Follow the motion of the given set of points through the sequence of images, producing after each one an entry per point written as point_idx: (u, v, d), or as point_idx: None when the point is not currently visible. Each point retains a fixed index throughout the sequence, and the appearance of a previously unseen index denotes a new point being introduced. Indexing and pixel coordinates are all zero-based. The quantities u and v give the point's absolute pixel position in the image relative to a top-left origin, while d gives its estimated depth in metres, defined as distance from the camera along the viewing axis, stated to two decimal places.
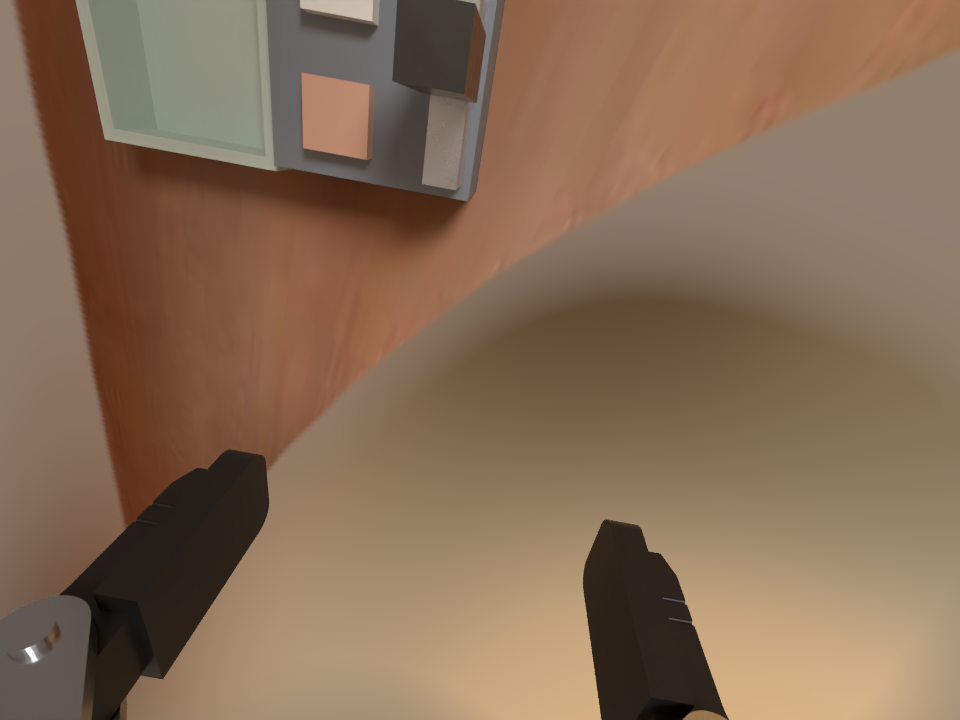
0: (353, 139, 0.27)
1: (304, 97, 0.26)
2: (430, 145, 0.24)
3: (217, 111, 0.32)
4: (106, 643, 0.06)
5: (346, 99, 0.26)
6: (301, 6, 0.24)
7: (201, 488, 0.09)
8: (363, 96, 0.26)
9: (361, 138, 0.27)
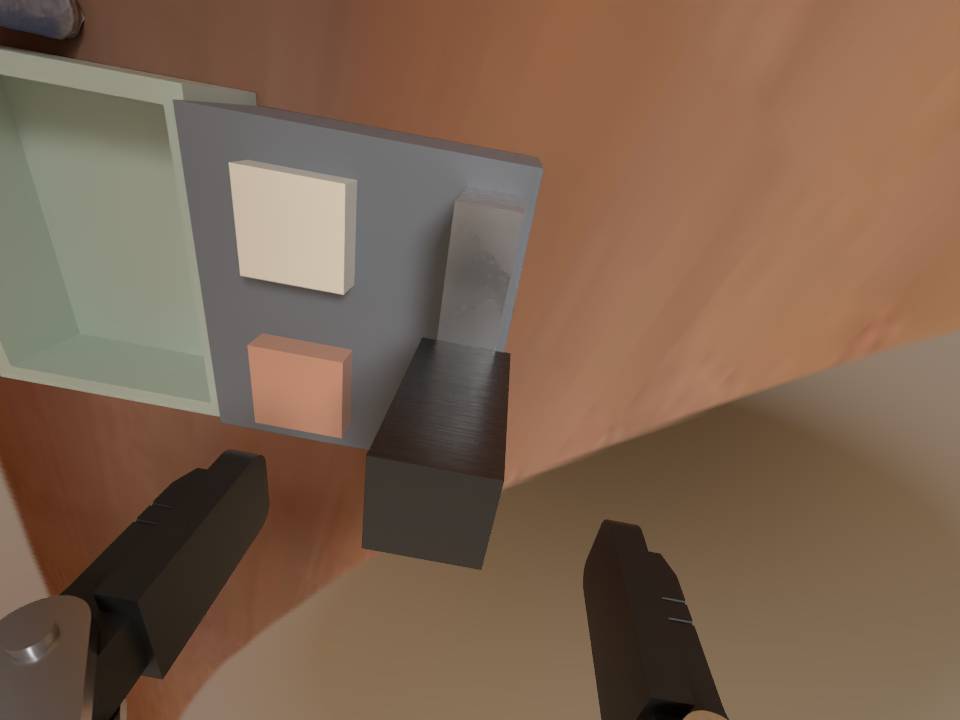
0: (322, 417, 0.20)
1: (253, 371, 0.19)
2: None
3: (154, 318, 0.25)
4: (106, 643, 0.06)
5: (311, 376, 0.19)
6: (241, 274, 0.17)
7: (201, 488, 0.09)
8: (334, 374, 0.18)
9: (333, 416, 0.19)
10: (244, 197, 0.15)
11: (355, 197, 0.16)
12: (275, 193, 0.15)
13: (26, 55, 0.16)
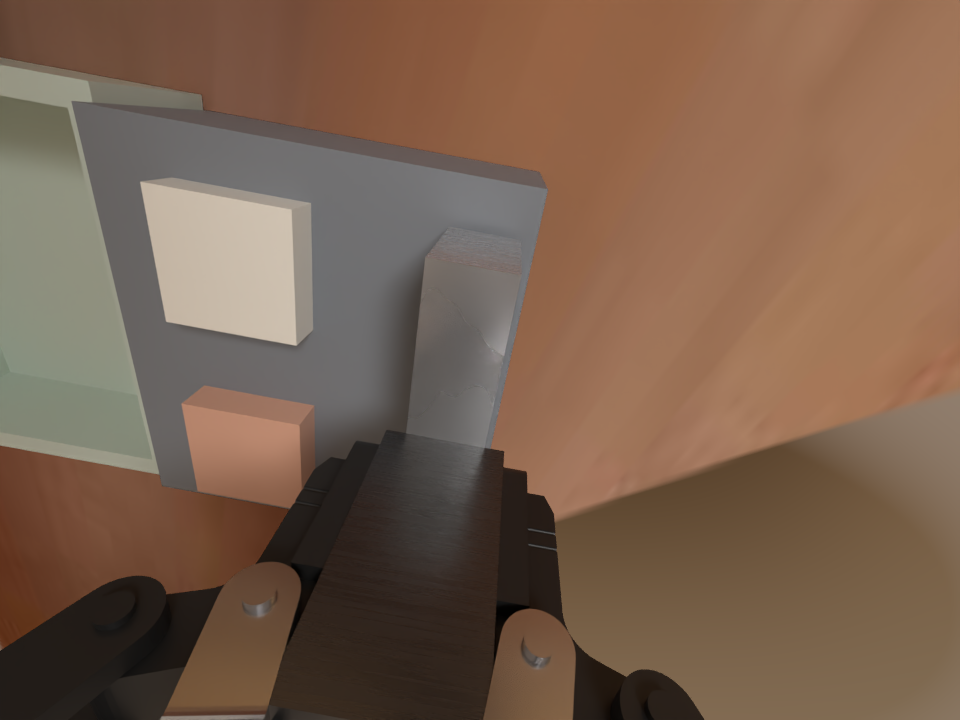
0: (278, 486, 0.16)
1: (191, 433, 0.15)
2: None
3: (94, 355, 0.22)
4: None
5: (261, 440, 0.15)
6: (168, 319, 0.13)
7: (347, 474, 0.10)
8: (290, 438, 0.15)
9: (291, 486, 0.16)
10: (163, 226, 0.12)
11: (310, 225, 0.13)
12: (203, 221, 0.12)
13: None
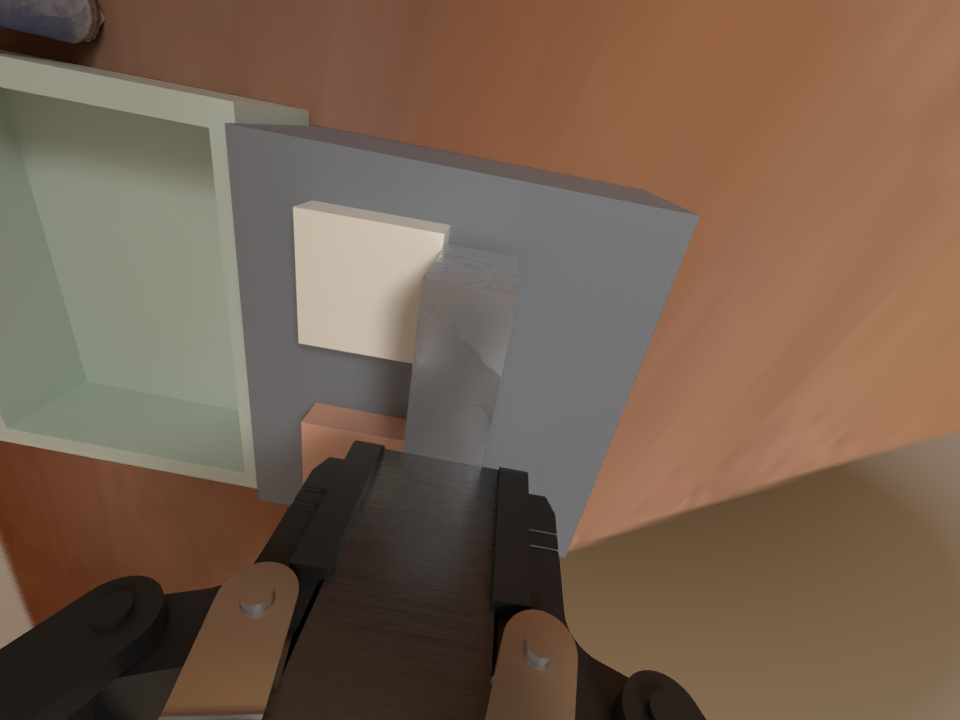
0: None
1: (306, 451, 0.15)
2: None
3: (175, 366, 0.22)
4: (306, 605, 0.07)
5: None
6: (300, 341, 0.13)
7: (345, 474, 0.10)
8: None
9: None
10: (310, 250, 0.12)
11: None
12: (351, 245, 0.12)
13: (35, 64, 0.12)
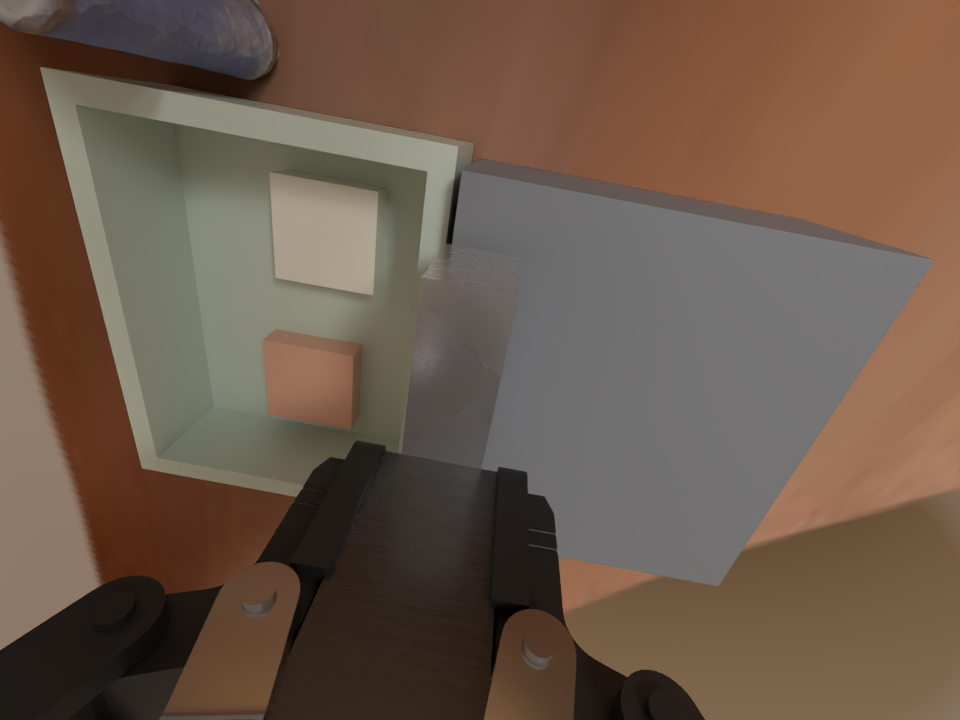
0: None
1: None
2: None
3: None
4: (307, 605, 0.07)
5: None
6: (379, 284, 0.19)
7: (346, 474, 0.10)
8: None
9: None
10: None
11: (271, 189, 0.16)
12: None
13: (261, 110, 0.12)
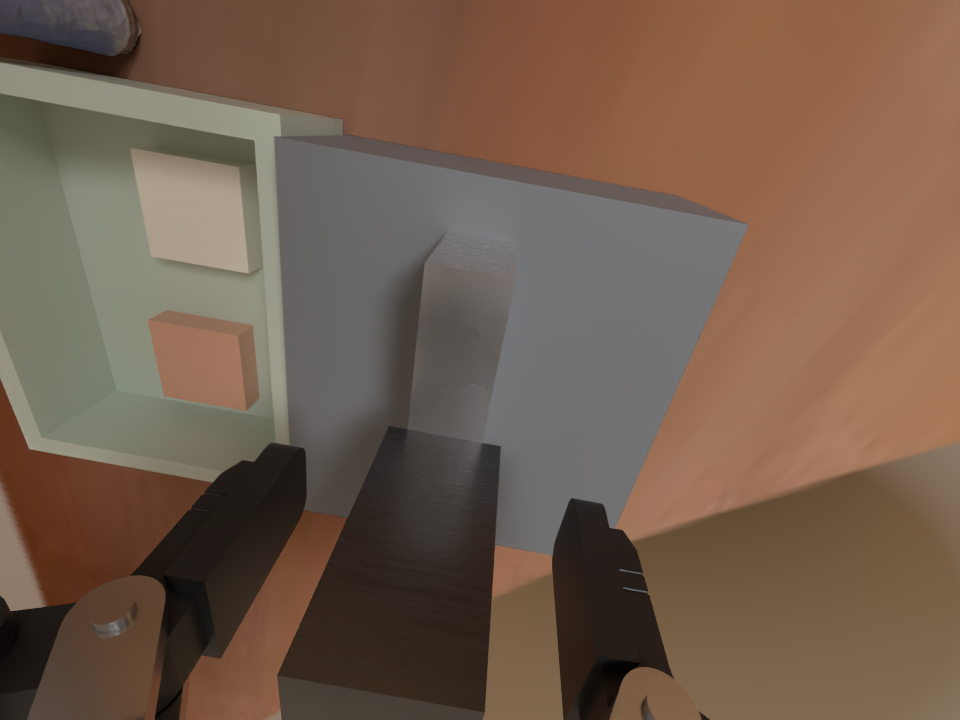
0: None
1: None
2: None
3: None
4: (178, 621, 0.07)
5: None
6: (262, 263, 0.19)
7: (251, 478, 0.09)
8: None
9: None
10: None
11: (135, 165, 0.16)
12: None
13: (83, 79, 0.12)
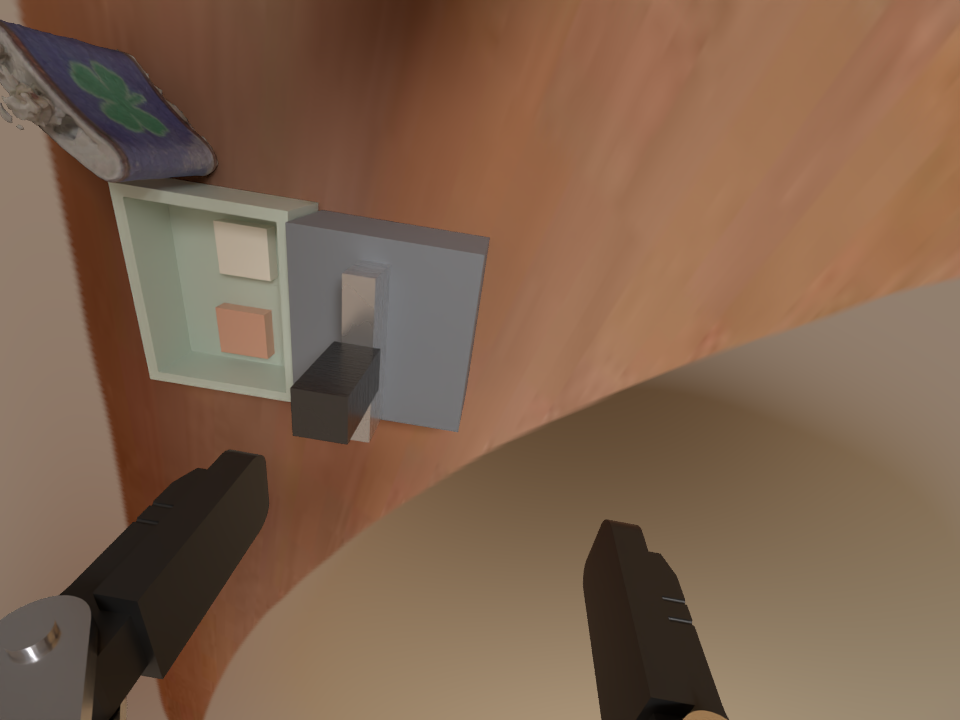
0: None
1: None
2: None
3: None
4: (106, 643, 0.06)
5: None
6: (277, 276, 0.35)
7: (201, 488, 0.09)
8: None
9: None
10: None
11: (214, 228, 0.33)
12: None
13: (202, 197, 0.29)
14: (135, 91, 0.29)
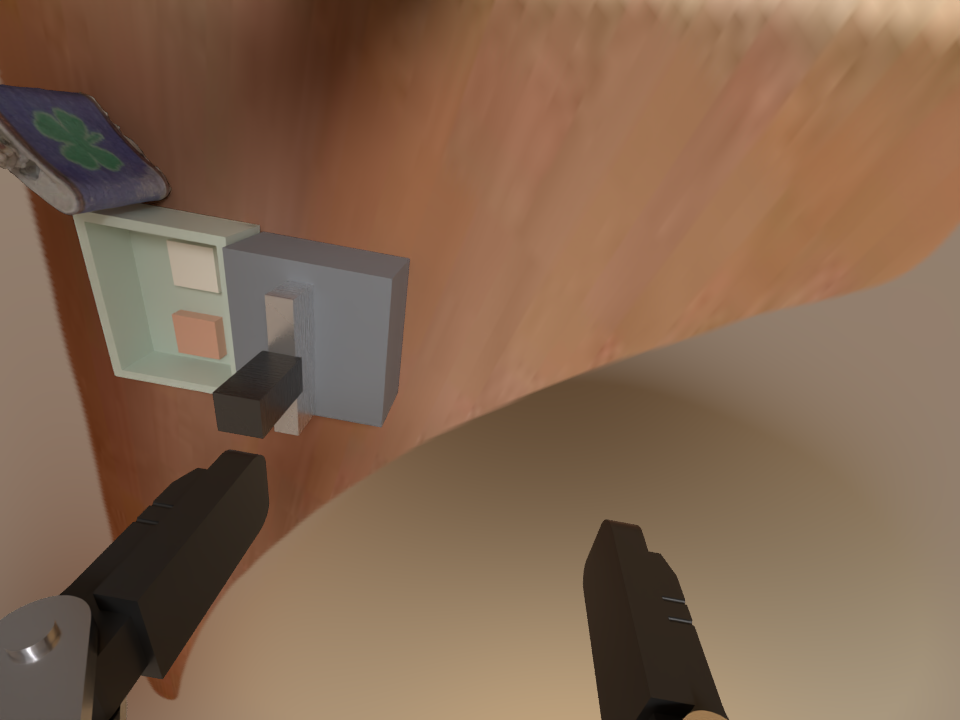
0: None
1: (222, 328, 0.42)
2: None
3: None
4: (106, 643, 0.06)
5: None
6: None
7: (201, 488, 0.09)
8: None
9: None
10: None
11: (168, 246, 0.37)
12: None
13: (152, 224, 0.34)
14: (94, 131, 0.33)
